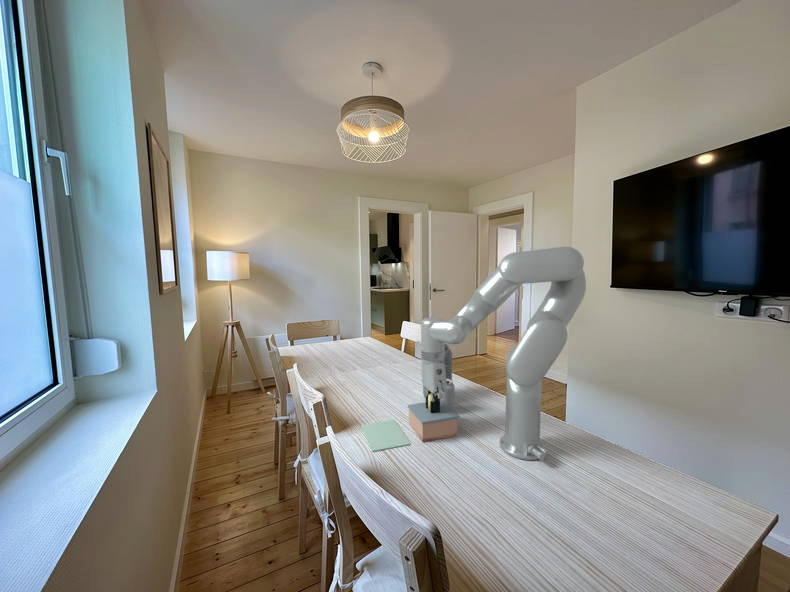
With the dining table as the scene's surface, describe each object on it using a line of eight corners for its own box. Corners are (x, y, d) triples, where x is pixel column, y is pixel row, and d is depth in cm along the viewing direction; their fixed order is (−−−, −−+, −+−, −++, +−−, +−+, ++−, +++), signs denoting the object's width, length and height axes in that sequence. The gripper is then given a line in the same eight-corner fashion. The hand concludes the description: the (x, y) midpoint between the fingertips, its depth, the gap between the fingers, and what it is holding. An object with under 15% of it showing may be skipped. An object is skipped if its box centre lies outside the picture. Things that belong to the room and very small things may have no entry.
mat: (410, 444, 94) (410, 443, 94) (372, 452, 90) (372, 450, 90) (394, 420, 109) (394, 419, 109) (361, 426, 105) (361, 424, 105)
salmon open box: (457, 436, 99) (457, 418, 98) (422, 442, 95) (422, 423, 94) (440, 419, 110) (440, 402, 109) (409, 424, 106) (409, 407, 106)
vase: (450, 395, 131) (451, 342, 129) (452, 407, 120) (453, 349, 118) (423, 394, 132) (423, 341, 130) (423, 405, 121) (423, 348, 119)
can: (454, 417, 111) (454, 384, 111) (433, 415, 113) (433, 383, 112) (454, 408, 119) (454, 377, 118) (434, 406, 120) (435, 376, 119)
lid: (460, 418, 98) (460, 400, 97) (422, 424, 94) (422, 406, 93) (441, 401, 110) (441, 386, 110) (407, 407, 106) (407, 390, 106)
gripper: (455, 361, 94) (454, 419, 95) (432, 348, 109) (432, 398, 111) (432, 363, 91) (432, 423, 93) (413, 350, 107) (413, 401, 108)
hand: (432, 409), depth 102 cm, fingers closed on lid, 3 cm apart
